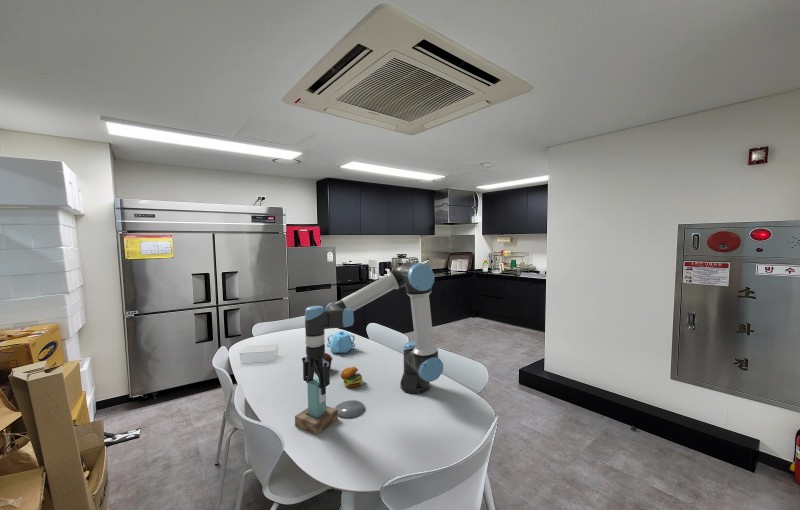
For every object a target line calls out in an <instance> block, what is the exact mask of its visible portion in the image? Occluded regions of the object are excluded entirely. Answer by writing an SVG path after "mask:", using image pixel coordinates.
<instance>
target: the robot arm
mask: <svg viewBox="0 0 800 510" xmlns="http://www.w3.org/2000/svg"><path fill="white" fill-rule="evenodd" d="M434 284H435V273H434V271H433V269H432V268H431V267H430V266H428V265H427V264H424V263H421V262H412V261H409V262H405V263H402V264H400V265H399V266H397V267H395V268H393V269H392V270H389V271H388V272H387V274H386V275H384V276H383V277H381V278H379V279H377V280H374V281H373V282H371V283H369V284H367V285H366V286H364V287H362V288H360V289H359V290H357V291H355V292H352V293H350V294H349V295H347V296H345V297H343V298H342V299H340V300H338V301H337V300H336V301H333V302H329V303H328V304H327V305H326V308H324V306H322V305H311V306H308V307H306V308H305V310H304V325H305V327H304V329H305V331H304V333H305V345H306V346H305V356H304V357H303V356H302V358H301V360H302V373H303V374H302V376H303V378H302V379H303V382H305V383H306V384H307V383H308V382H310V381H312V380H314V379H315V378H314V376H315V372H314V371H315V369H316V371H317V376H318V377H317V378H318V379H319V383H320V387H319V403H322V402H324V401H325V394H326V393H327V392H326V391H327V386H329V385H330V384H331V379H330V378H331V377H330V371H329V366H330V361H328V362H327V361H326V360H325V358H324V353H326V344H325V343H326V341H325V338H326V337H325V330H329V329H339V328H347V327H351V326H352V327H353V325H354V321H355V316H354V312H355V311H356V310H358V309H360V308H362V307H363V306H366V305H367V304H369V303H371V302H373V301H374V300H376V299H378V298H380V297H382V296H384V295H385V294H388V293H389V292H390V291H393V290H399V289H401V288H403V287H404V288H405V289H406V290H405V291H406V295H408V296H409V298H410V307H411V317H412V325H413V334H414V340H413V341H408V342H405V343H404V344H403V350H402V351H403V373H402V377H401V380H400V383H399V384H400V385H399V387H400V390H402V392H404V393H407V394H413V395H419V394H424V393H427V392H428V391H429V390H430V389H431V382H434V381H437V380H438V379H439V378H440V376H441V375H442V374H443V371H444V363H443V361H442V359H440V358H439V349H438V347H437V346H436V345H435V344H434V333H433V332H434V331H433V323H432V313H431V303H430V297H429V296H430V294H431V293H432V290H433V288H432V287H433V285H434Z"/></svg>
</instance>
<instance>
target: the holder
mask: <svg viewBox="0 0 800 510" xmlns="http://www.w3.org/2000/svg"><path fill="white" fill-rule="evenodd" d="M338 419H339V416H338V410H337V409H335V407H331V406H328V405H326V413H324V414H323V415H322V416H320V417H319V418H317V419H316V418H313V417H310V416H308V407H307V408H305V409H304V410H303V411H301V412H299V413H297V414H296V415H294V426H295V427H297V428H300V429H302V430H304V431H307V432H310V433H312V434H314V435H319V434H320V433H321V432H322V431H324V430H325V429H326V428H328V427H329V426H330V425H331V424H333V423H334V422H336V421H337V420H338Z"/></svg>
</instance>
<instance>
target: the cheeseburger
mask: <svg viewBox="0 0 800 510" xmlns="http://www.w3.org/2000/svg"><path fill="white" fill-rule="evenodd" d="M358 371H359V368H358V367H356V366H351V367H350V366H349V367H347V368H344V369H343V370H342V371H341V374H340V379H342V380H343V385H345V387H347V388H356V387H358V386H362V385H363V383H364V380H363V375H362V374H361V373H359V372H358Z"/></svg>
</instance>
